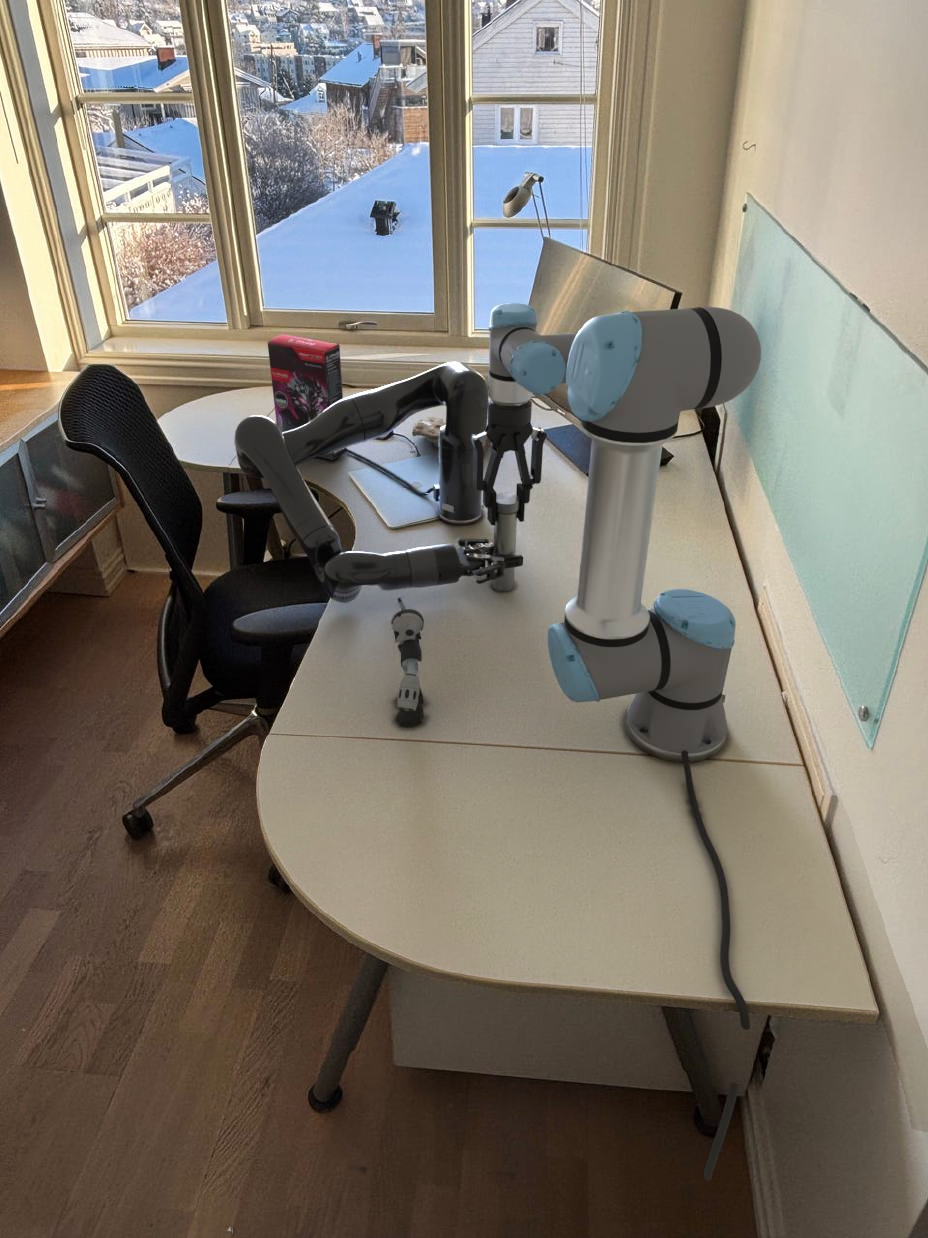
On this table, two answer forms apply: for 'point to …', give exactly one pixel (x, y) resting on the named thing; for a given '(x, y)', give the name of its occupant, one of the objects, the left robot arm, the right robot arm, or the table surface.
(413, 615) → the robot
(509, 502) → the lid
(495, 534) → the grey capped cylinder
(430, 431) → the stone
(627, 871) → the table surface
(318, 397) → the graphics card box
